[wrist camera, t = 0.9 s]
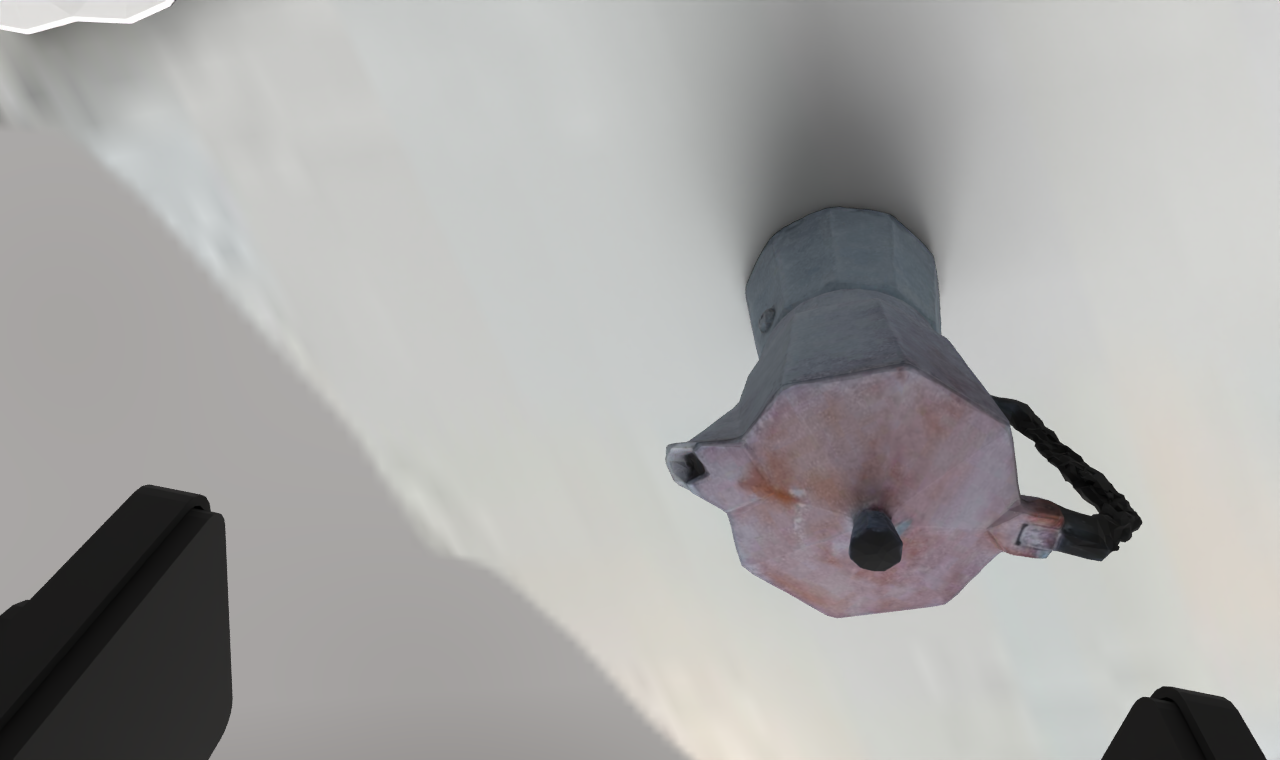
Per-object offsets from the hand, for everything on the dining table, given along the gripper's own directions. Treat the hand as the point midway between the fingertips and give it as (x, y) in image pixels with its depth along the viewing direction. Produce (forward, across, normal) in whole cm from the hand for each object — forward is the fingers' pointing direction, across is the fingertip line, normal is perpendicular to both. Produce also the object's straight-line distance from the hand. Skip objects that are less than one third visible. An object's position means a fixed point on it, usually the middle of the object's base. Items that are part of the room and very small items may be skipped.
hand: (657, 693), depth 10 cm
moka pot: (+35, -8, +9) cm, 37 cm away
